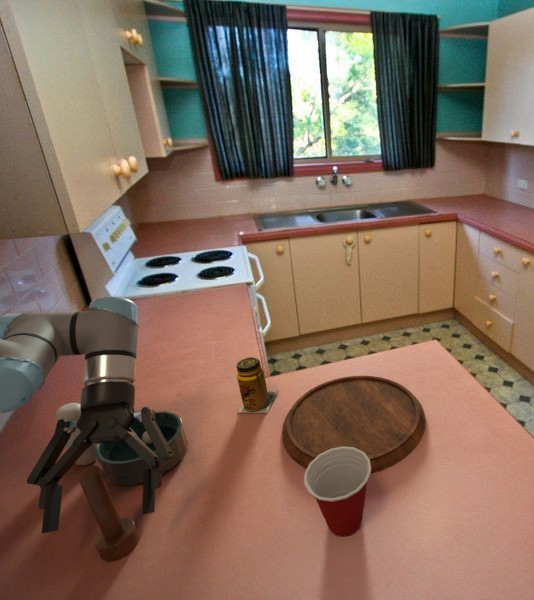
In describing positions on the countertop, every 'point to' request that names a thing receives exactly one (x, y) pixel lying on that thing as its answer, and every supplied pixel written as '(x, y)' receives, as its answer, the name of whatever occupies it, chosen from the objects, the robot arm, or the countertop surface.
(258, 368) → the condiment
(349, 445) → the cutting board
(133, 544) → the wooden masher
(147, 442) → the cream ball
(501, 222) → the countertop surface
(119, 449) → the bowl
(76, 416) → the salt shaker
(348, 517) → the plastic cup
